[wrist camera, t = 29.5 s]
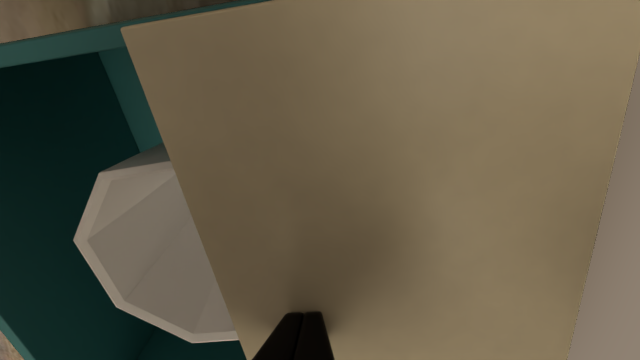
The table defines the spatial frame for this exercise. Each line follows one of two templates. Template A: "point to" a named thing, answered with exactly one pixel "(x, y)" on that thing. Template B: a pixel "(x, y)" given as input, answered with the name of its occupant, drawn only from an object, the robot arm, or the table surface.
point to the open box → (73, 193)
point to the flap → (397, 163)
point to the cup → (152, 250)
